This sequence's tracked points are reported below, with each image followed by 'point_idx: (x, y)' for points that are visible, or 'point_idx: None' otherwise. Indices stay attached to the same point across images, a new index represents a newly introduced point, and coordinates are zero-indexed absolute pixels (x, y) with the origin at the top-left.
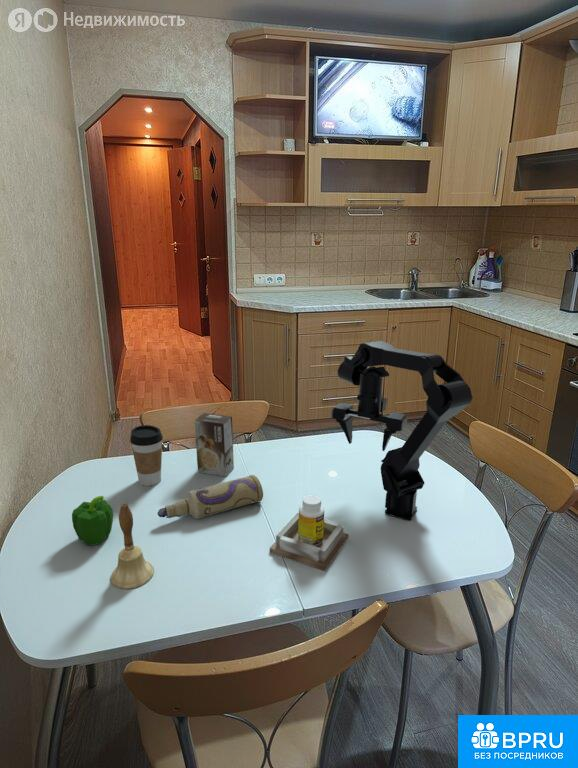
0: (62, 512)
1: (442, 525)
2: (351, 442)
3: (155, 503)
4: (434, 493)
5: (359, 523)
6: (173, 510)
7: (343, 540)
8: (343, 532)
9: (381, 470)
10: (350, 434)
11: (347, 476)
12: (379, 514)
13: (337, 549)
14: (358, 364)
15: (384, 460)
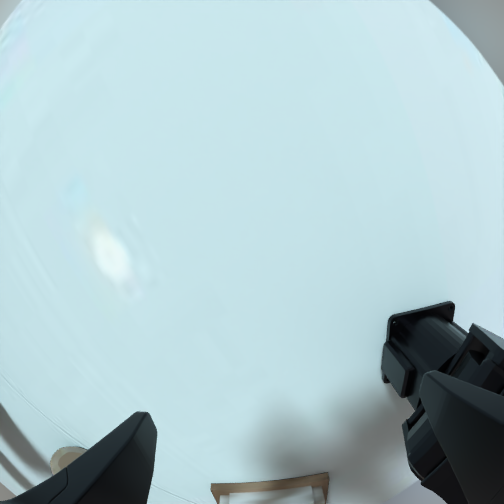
0: (19, 491)
1: (493, 325)
2: (150, 418)
3: (33, 476)
4: (473, 179)
5: (333, 437)
6: None
7: (327, 489)
8: (318, 480)
9: (413, 470)
10: (131, 488)
11: (165, 241)
12: (369, 387)
13: (325, 501)
14: None
15: (437, 489)
